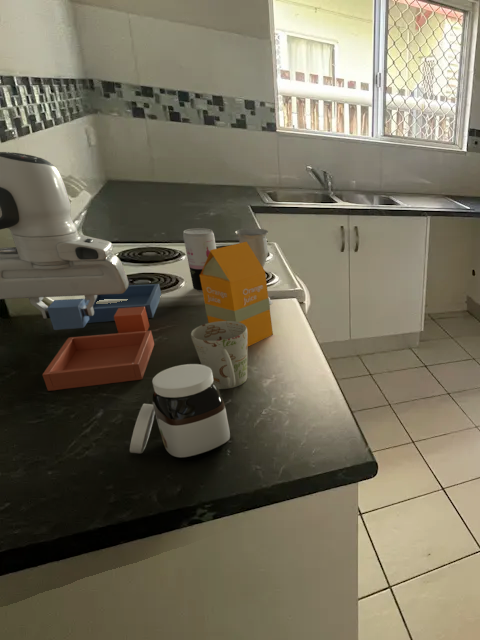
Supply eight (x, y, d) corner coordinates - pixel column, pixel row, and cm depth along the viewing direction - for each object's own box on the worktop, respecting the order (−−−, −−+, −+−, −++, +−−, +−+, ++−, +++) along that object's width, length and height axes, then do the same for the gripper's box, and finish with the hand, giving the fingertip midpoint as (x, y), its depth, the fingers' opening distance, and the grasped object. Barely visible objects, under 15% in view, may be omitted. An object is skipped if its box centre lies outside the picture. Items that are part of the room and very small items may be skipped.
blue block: (53, 330, 91) (46, 308, 89) (60, 321, 94) (54, 299, 93) (83, 327, 93) (77, 306, 91) (89, 319, 96) (83, 298, 95)
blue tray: (80, 323, 100) (75, 310, 98) (96, 299, 111) (93, 287, 110) (153, 318, 105) (149, 305, 104) (161, 295, 117) (159, 283, 116)
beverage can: (219, 282, 128) (210, 227, 122) (225, 290, 124) (216, 233, 118) (191, 286, 124) (180, 229, 118) (196, 293, 120) (184, 235, 114)
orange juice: (211, 341, 98) (193, 246, 89) (245, 327, 105) (232, 238, 97) (241, 350, 96) (225, 254, 87) (274, 334, 103) (262, 244, 95)
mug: (247, 365, 91) (240, 317, 86) (266, 395, 82) (259, 344, 78) (197, 376, 86) (186, 326, 81) (211, 409, 77) (200, 355, 73)
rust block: (119, 336, 96) (113, 316, 94) (123, 328, 100) (118, 308, 98) (146, 334, 98) (141, 314, 96) (149, 325, 102) (144, 306, 100)
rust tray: (48, 391, 77) (42, 374, 76) (73, 352, 89) (68, 337, 88) (142, 379, 83) (138, 363, 82) (154, 344, 95) (151, 330, 93)
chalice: (247, 298, 120) (237, 227, 113) (277, 297, 122) (269, 228, 115) (244, 309, 114) (233, 235, 106) (275, 308, 116) (266, 235, 109)
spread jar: (240, 450, 69) (228, 381, 64) (147, 487, 61) (125, 411, 56) (209, 414, 76) (196, 349, 71) (122, 443, 68) (101, 372, 63)
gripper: (-38, 252, 80) (-10, 327, 86) (115, 250, 89) (130, 318, 95) (-21, 243, 85) (4, 314, 91) (121, 242, 94) (136, 307, 100)
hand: (70, 316), depth 93 cm, fingers closed on blue block, 4 cm apart
